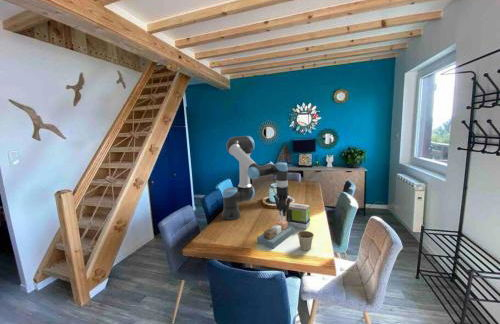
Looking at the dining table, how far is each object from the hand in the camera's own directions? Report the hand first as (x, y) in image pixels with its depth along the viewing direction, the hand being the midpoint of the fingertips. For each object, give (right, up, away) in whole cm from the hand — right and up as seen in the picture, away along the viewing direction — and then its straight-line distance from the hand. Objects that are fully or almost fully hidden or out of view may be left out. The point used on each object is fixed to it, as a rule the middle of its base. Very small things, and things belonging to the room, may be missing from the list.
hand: (282, 220), depth 159 cm
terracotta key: (0, -5, +1) cm, 6 cm away
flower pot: (+11, -12, -19) cm, 25 cm away
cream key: (-5, -7, -5) cm, 10 cm away
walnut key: (-10, -8, -11) cm, 17 cm away
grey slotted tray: (-5, -10, -5) cm, 12 cm away
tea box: (+13, -7, +14) cm, 21 cm away
